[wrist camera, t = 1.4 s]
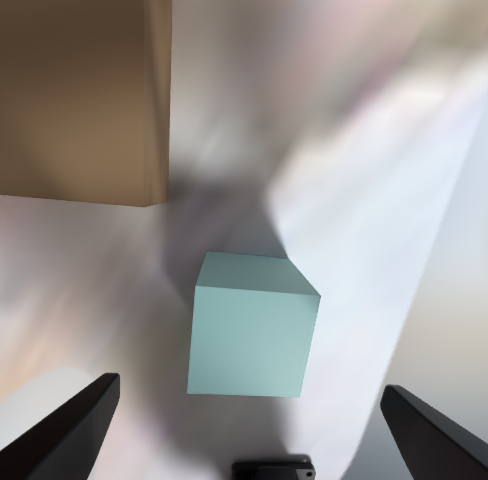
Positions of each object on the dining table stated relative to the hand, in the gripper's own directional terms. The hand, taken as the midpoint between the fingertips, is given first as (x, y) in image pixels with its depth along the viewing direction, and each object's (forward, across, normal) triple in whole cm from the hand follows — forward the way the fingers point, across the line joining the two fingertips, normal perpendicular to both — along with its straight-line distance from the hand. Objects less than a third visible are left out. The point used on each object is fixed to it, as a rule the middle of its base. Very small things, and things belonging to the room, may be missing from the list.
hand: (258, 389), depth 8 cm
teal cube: (+7, 0, 0) cm, 7 cm away
